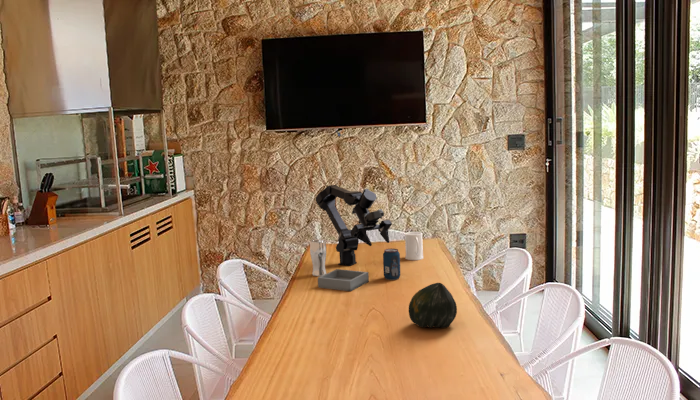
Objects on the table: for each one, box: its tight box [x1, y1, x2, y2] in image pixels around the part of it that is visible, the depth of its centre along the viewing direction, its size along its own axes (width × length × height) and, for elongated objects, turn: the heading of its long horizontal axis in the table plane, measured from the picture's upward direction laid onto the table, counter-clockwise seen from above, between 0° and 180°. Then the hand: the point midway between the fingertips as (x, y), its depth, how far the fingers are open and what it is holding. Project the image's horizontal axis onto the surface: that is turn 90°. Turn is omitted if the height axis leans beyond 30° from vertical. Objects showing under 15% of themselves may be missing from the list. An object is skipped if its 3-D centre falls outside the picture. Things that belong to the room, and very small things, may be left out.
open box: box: [317, 268, 370, 292], centre depth 250 cm, size 15×15×4 cm
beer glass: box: [309, 238, 327, 277], centre depth 266 cm, size 7×7×15 cm
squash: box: [408, 282, 458, 329], centre depth 197 cm, size 14×15×15 cm
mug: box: [404, 231, 424, 261], centre depth 288 cm, size 12×8×12 cm
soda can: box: [382, 248, 401, 281], centre depth 256 cm, size 7×7×12 cm
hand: (379, 243), depth 261 cm, fingers open, 9 cm apart
